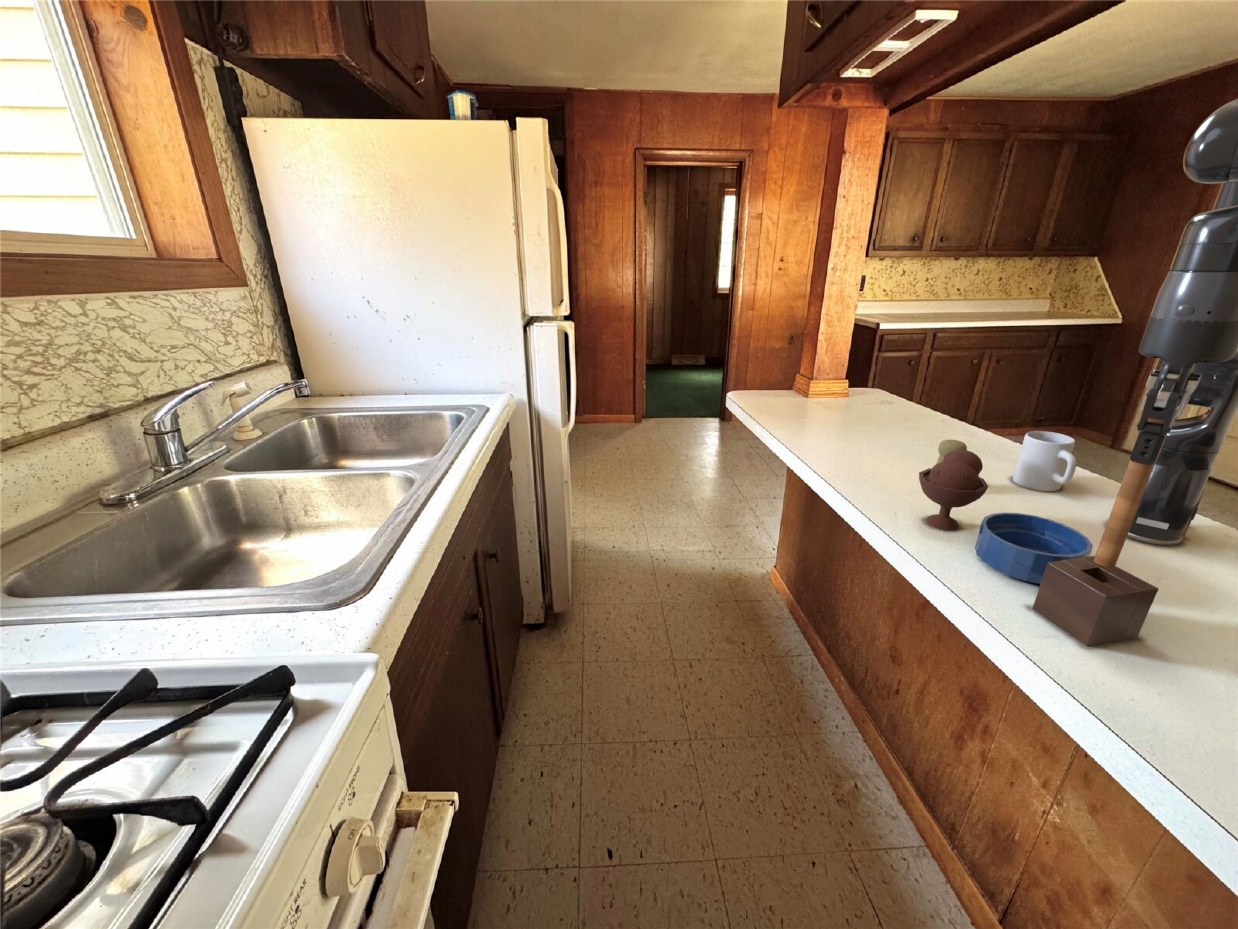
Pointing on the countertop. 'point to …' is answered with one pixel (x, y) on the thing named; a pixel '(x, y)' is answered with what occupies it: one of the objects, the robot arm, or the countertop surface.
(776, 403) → the countertop surface
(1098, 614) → the stand
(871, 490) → the countertop surface
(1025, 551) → the blue round bowl
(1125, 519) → the stirring stick
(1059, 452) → the mug
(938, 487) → the ice cream bowl
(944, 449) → the cork
